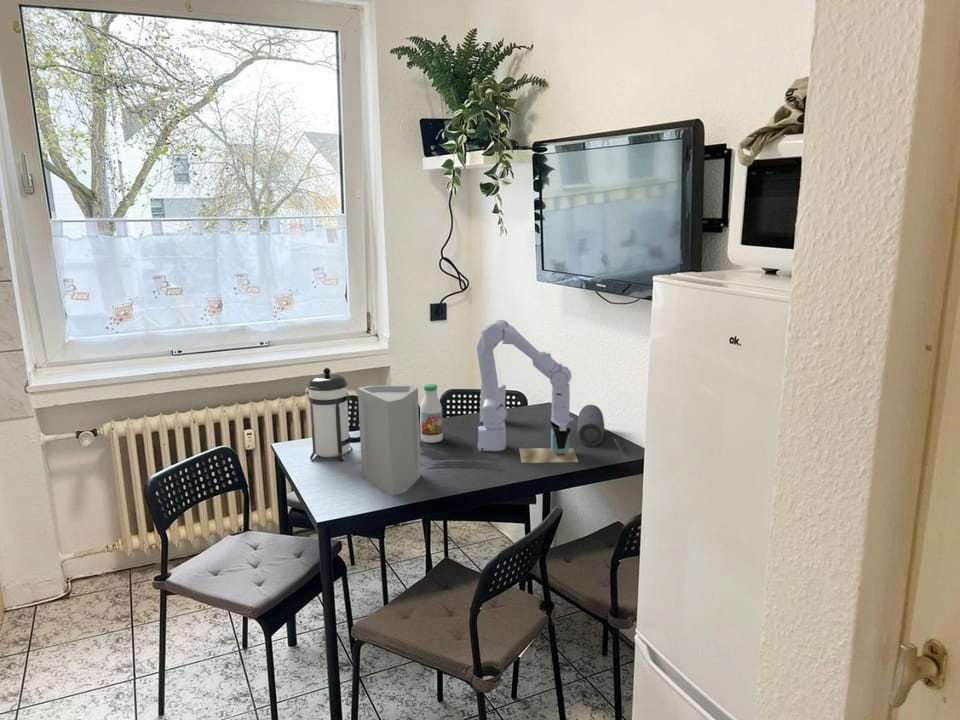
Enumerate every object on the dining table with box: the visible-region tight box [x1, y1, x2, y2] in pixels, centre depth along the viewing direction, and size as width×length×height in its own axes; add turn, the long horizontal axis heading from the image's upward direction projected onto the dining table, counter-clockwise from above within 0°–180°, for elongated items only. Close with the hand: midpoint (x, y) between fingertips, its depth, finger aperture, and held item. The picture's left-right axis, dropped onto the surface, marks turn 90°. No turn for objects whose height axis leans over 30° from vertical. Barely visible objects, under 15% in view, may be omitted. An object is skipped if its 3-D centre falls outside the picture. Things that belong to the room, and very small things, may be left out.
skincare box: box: [479, 383, 507, 424], centre depth 267 cm, size 8×6×15 cm
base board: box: [518, 447, 579, 464], centre depth 228 cm, size 18×13×2 cm
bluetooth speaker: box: [576, 404, 605, 447], centre depth 247 cm, size 23×9×10 cm, turn 171°
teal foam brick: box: [550, 427, 570, 453], centre depth 228 cm, size 5×5×7 cm
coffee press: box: [304, 367, 360, 463], centre depth 231 cm, size 17×16×30 cm
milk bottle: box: [419, 383, 444, 444], centre depth 246 cm, size 8×8×20 cm
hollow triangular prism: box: [357, 385, 422, 497], centre depth 209 cm, size 19×15×28 cm
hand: (560, 445), depth 228 cm, fingers open, 5 cm apart
